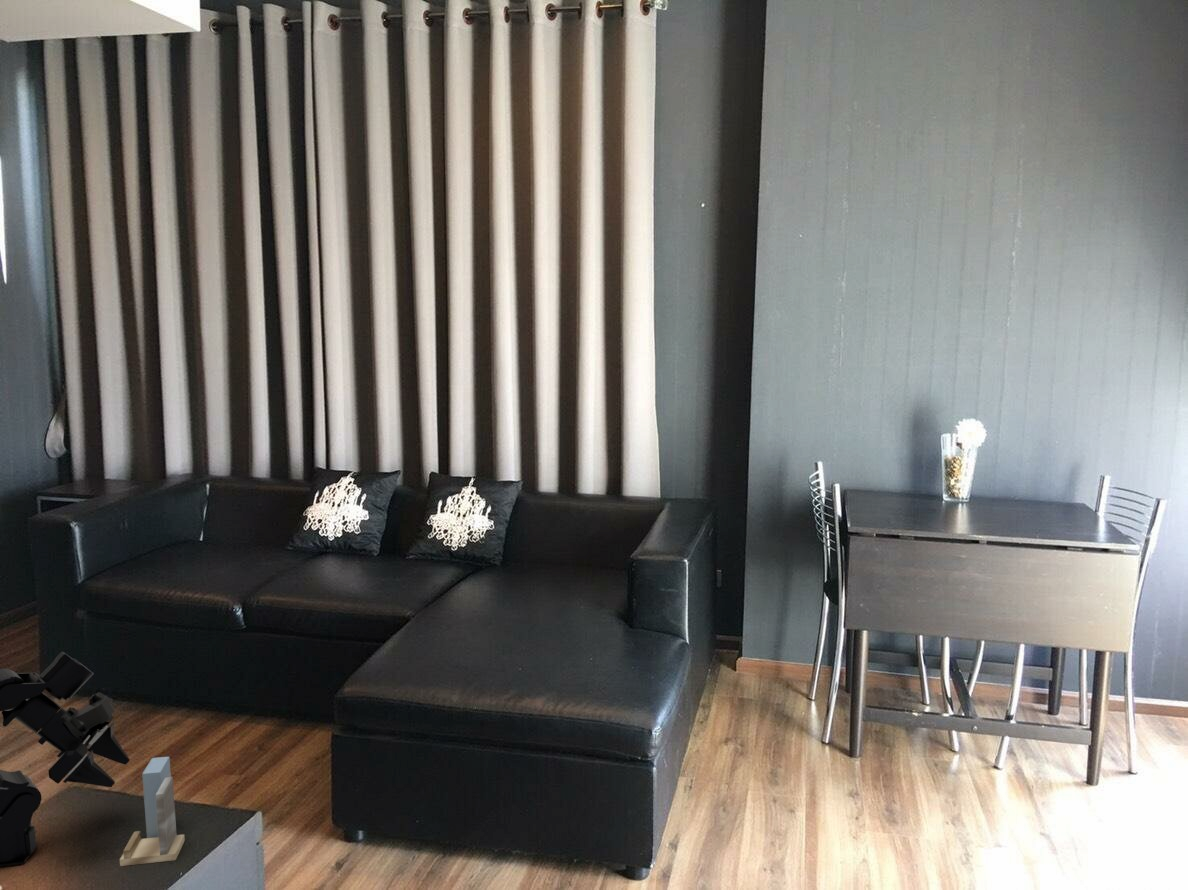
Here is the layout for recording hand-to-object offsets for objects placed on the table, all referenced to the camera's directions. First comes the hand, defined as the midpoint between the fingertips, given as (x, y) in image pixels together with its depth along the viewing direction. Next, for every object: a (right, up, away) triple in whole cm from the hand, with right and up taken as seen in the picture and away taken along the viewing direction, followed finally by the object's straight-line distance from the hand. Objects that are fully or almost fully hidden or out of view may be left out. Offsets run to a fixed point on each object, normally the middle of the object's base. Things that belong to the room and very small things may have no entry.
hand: (120, 773), depth 171 cm
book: (+6, -12, +2) cm, 13 cm away
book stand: (+8, -12, -5) cm, 15 cm away
